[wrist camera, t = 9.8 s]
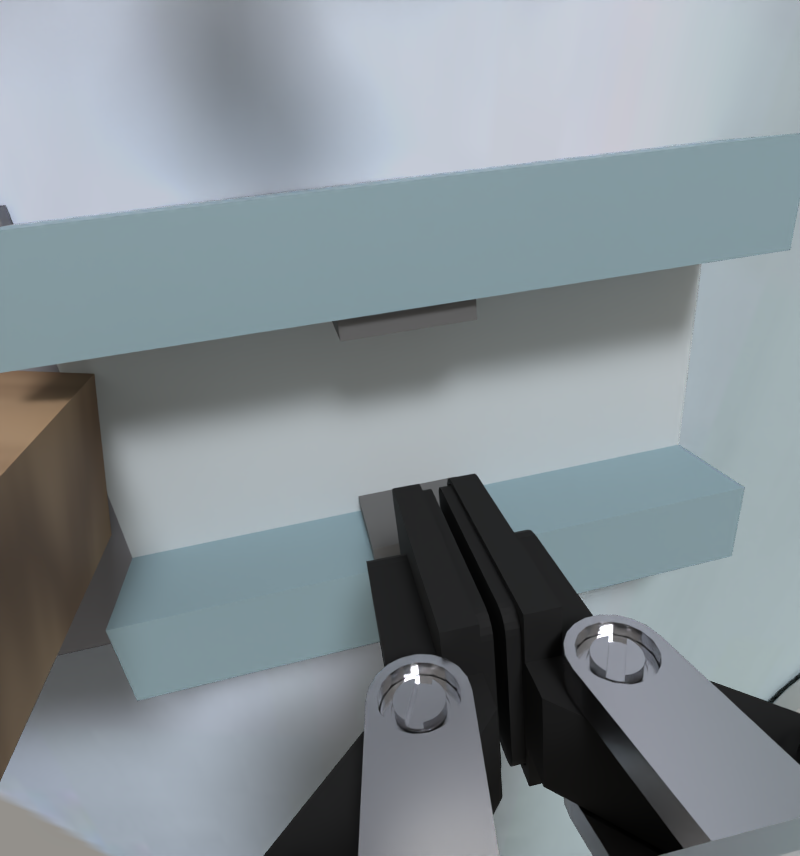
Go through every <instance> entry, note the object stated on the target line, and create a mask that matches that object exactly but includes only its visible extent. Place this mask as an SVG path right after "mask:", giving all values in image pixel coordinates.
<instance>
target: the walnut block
mask: <svg viewBox="0 0 800 856" xmlns="http://www.w3.org/2000/svg"><path fill="white" fill-rule="evenodd" d="M111 535H112V534H111V525H110V515H109V506H108V497H107V487H106V478H105V469H104V459H103V450H102V441H101V431H100V422H99V412H98V403H97V394H96V384H95V375H94V374H90V373H64V372H38V371H10V372H3V373H0V781H1V778H2V776H3V774H4V772H5V770H6V767H7V765H8V763H9V761H10V758H11V756H12V754H13V752H14V750H15V747H16V745H17V743H18V741H19V739H20V736H21V734H22V732H23V730H24V727H25V725H26V723H27V721H28V719H29V716H30V714H31V712H32V710H33V708H34V705H35V703H36V701H37V699H38V696H39V694H40V692H41V690H42V688H43V685H44V683H45V681H46V679H47V677H48V674H49V672H50V670H51V668H52V666H53V663H54V661H55V659H56V657H57V654H58V652H59V650H60V648H61V646H62V643H63V641H64V639H65V637H66V635H67V632H68V630H69V628H70V626H71V623H72V621H73V619H74V617H75V615H76V612H77V610H78V608H79V606H80V604H81V601H82V599H83V597H84V595H85V592H86V590H87V588H88V586H89V584H90V581H91V579H92V577H93V575H94V573H95V570H96V568H97V566H98V564H99V561H100V559H101V557H102V555H103V553H104V550H105V548H106V546H107V544H108V542H109V539H110V537H111Z"/></svg>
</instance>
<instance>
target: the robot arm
mask: <svg viewBox="0 0 800 856" xmlns="http://www.w3.org/2000/svg"><path fill="white" fill-rule="evenodd" d="M392 495H393V503H394V510H395V518H396V525H397V532H398V540H399V547H400V554H401V555H395V556H390V557H385V558H380V559H375V560H370V561H366V563H367V569H368V575H369V581H370V587H371V593H372V599H373V605H374V611H375V616H376V622H377V628H378V634H379V639H380V645H381V650H382V656H383V661H384V668H383V669H382V670H381V671H380V672H379V673H378V674H376V676H375V678H374V679H373V681H372V683H371V684H370V686H369V688H368V693H367V697H366V703H365V724H364V731H363V732H362V734H361V735H360V736H359V737H358V739H357V740H356V741H355V742H354V744H353V745H352V746H351V747H350V749H349V750H348V751H347V752H346V754H345V755H344V756H343V757H342V759H341V760H340V761H339V762H338V764H337V765H336V766H335V767H334V769H333V770H332V771H331V772H330V774H329V775H328V776H327V777H326V779H325V780H324V781H323V782H322V784H321V785H320V786H319V787H318V789H317V790H316V791H315V792H314V794H313V795H312V796H311V797H310V799H309V800H308V801H307V802H306V803H305V805H304V806H303V807H302V808H301V810H300V811H299V812H298V813H297V815H296V816H295V817H294V818H293V820H292V821H291V822H290V823H289V825H288V826H287V827H286V828H285V830H284V831H283V832H282V833H281V835H280V836H279V837H278V838H277V840H276V841H275V842H274V843H273V845H272V846H271V847H270V848H269V850H268V851H267V852H266V853H265V855H264V856H500V855H499V849H498V843H497V837H496V831H495V825H494V819H493V814H494V812H495V810H496V808H497V806H498V805H499V803H500V801H501V799H502V783H501V754H500V743H501V745H502V748H503V751H504V753H505V756H506V759H507V761H508V763H509V765H510V766H515V765H519V764H521V767H522V769H523V772H524V774H525V777H526V779H527V782H528V784H529V786H533V785H537V784H541V783H542V784H543V786H544V787H545V788H547V789H549V790H551V791H553V792H555V793H557V794H558V795H560V796H562V797H564V805H565V807H566V809H567V812H568V814H569V816H570V819H571V820H572V822H573V824H574V825H575V827H576V829H577V830H578V832H579V834H580V835H581V837H582V839H583V840H584V842H585V844H586V845H587V847H588V849H589V850H590V852H591V854H592V855H593V856H800V679H798V680H797V681H796V682H795V683H793V684H792V685H791V686H790V687H789V688H787V689H786V690H785V691H784V692H783V693H782V694H781V695H780V696H779V697H778V698H777V699H776V700H775V701H774V702H773V703H770V702H767V701H765V700H762V699H759V698H756V697H753V696H751V695H748V694H745V693H742V692H740V691H737V690H734V689H731V688H728V687H726V686H723V685H720V684H717V683H715V682H712V681H709V680H708V679H707V678H706V677H705V676H704V675H703V674H701V673H700V672H699V671H698V670H697V669H696V668H695V667H694V666H693V665H692V664H691V663H690V662H689V661H687V660H686V659H685V658H684V657H683V656H682V655H681V654H680V653H679V652H678V651H677V650H676V649H675V648H674V647H672V646H671V645H670V644H669V643H668V642H667V641H666V640H665V639H664V638H663V637H662V636H661V635H659V634H658V633H657V632H655V631H654V630H653V629H651V628H650V627H648V626H647V625H645V624H643V623H640V622H638V621H636V620H634V619H631V618H627V617H623V616H618V615H596V616H593V615H592V614H591V612H590V611H589V609H588V608H587V607H586V605H585V604H584V602H583V601H582V600H581V598H580V597H579V595H578V594H577V593H576V591H575V590H574V588H573V587H572V585H571V584H570V583H569V581H568V580H567V578H566V577H565V576H564V574H563V573H562V571H561V570H560V569H559V567H558V566H557V564H556V563H555V561H554V560H553V559H552V557H551V556H550V554H549V553H548V552H547V550H546V549H545V547H544V546H543V545H542V543H541V542H540V540H539V539H538V537H537V536H536V535H535V534H534V533H533V531H532V530H523V531H518V532H514V531H513V530H512V528H511V527H510V525H509V524H508V522H507V521H506V519H505V517H504V516H503V514H502V513H501V511H500V510H499V508H498V507H497V505H496V504H495V502H494V501H493V499H492V497H491V496H490V494H489V493H488V491H487V490H486V488H485V487H484V485H483V484H482V482H481V480H480V479H479V477H478V476H477V475H476V474H469V475H463V476H458V477H452V478H448V480H447V486H443V487H439V502H440V506H439V504H438V502H437V500H436V497H435V495H434V493H433V491H432V489H427V490H422V488H421V486H420V484H414V485H409V486H403V487H398V488H392Z"/></svg>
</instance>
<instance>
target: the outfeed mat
mask: <svg viewBox="0 0 800 856" xmlns="http://www.w3.org/2000/svg"><path fill="white" fill-rule="evenodd" d="M8 225H13V224H12V222H11V219H10V216H9V214H8V211H7V209H6V206H5V205H3V206H0V227H3V226H8ZM16 371H38V372H60V371H59V369H58V366H57V364H55V365H48V366H42V367H35V368H29V369H22V370H16ZM107 497H108V494H107ZM108 506H109V515H110V525H111V534H112V535H111V537H110V539H109V542H108V544H107V546H106V548H105V550H104V553H103V555H102V557H101V559H100V561H99V564H98V566H97V568H96V570H95V573H94V575H93V577H92V579H91V581H90V584H89V586H88V588H87V590H86V592H85V595H84V597H83V599H82V601H81V604H80V606H79V608H78V610H77V612H76V615H75V617H74V619H73V621H72V623H71V626H70V628H69V630H68V632H67V635H66V637H65V639H64V641H63V643H62V646H61V648H60V650H59V652H58V654H57V656H58V655H62V654H67V653H71V652H75V651H80V650H84V649H88V648H93V647H97V646H102V645H106V644H110V643H111V642H110V639H109V637H108V635H107V633H106V628H107V626H108V623H109V620H110V618H111V615H112V612H113V609H114V607H115V604H116V601H117V599H118V596H119V593H120V590H121V588H122V585H123V582H124V580H125V577H126V574H127V571H128V569H129V566H130V563H131V561H132V555H131V553H130V550H129V548H128V545H127V542H126V540H125V537H124V535H123V532H122V530H121V527H120V525H119V522H118V519H117V517H116V514H115V512H114V509H113V507H112V504H111V502H110V499H109V497H108Z"/></svg>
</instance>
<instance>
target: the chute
mask: <svg viewBox="0 0 800 856" xmlns="http://www.w3.org/2000/svg"><path fill="white" fill-rule="evenodd" d="M799 201H800V133H796V134H785V135H774V136H763V137H751V138H740V139H729V140H718V141H707V142H698V143H689V144H681V145H673V146H664V147H656V148H648V149H639V150H631V151H623V152H614V153H606V154H598V155H589V156H581V157H573V158H564V159H556V160H548V161H539V162H531V163H523V164H514V165H506V166H498V167H489V168H481V169H473V170H465V171H456V172H448V173H440V174H431V175H423V176H415V177H406V178H398V179H390V180H381V181H373V182H365V183H356V184H348V185H340V186H331V187H323V188H315V189H306V190H298V191H290V192H281V193H273V194H265V195H256V196H248V197H240V198H231V199H223V200H215V201H206V202H198V203H190V204H181V205H173V206H165V207H156V208H148V209H140V210H131V211H123V212H115V213H106V214H98V215H90V216H82V217H73V218H65V219H57V220H48V221H40V222H32V223H23V224H15V225H8V226H3V227H0V373H3V372H10V371H16V370H22V369H29V368H35V367H42V366H48V365H55V364H57V366H58V369H59V371H60V372H64V373H90V374H94V375H95V384H96V394H97V403H98V412H99V422H100V431H101V441H102V450H103V459H104V469H105V478H106V487H107V494H108V497H109V499H110V502H111V504H112V507H113V509H114V512H115V514H116V517H117V519H118V522H119V525H120V527H121V530H122V532H123V535H124V537H125V540H126V542H127V545H128V548H129V550H130V553H131V555H132V561H131V563H130V566H129V569H128V571H127V574H126V577H125V580H124V582H123V585H122V588H121V590H120V593H119V596H118V599H117V601H116V604H115V607H114V609H113V612H112V615H111V618H110V620H109V623H108V626H107V628H106V633H107V635H108V637H109V639H110V642H111V644H112V646H113V648H114V650H115V653H116V655H117V657H118V659H119V662H120V664H121V666H122V668H123V670H124V673H125V675H126V677H127V679H128V682H129V684H130V686H131V688H132V690H133V693H134V695H135V697H136V699H137V701H139V700H143V699H147V698H151V697H156V696H160V695H164V694H168V693H172V692H176V691H180V690H184V689H188V688H192V687H197V686H201V685H205V684H209V683H213V682H217V681H221V680H225V679H229V678H233V677H238V676H242V675H246V674H250V673H254V672H258V671H262V670H266V669H270V668H274V667H279V666H283V665H287V664H291V663H295V662H299V661H303V660H307V659H311V658H315V657H320V656H324V655H328V654H332V653H336V652H340V651H344V650H348V649H352V648H356V647H361V646H365V645H369V644H373V643H377V642H380V639H379V634H378V628H377V622H376V616H375V611H374V605H373V599H372V593H371V587H370V581H369V575H368V569H367V563H366V561H370V560H375V559H380V558H385V557H390V556H395V555H401V554H400V547H399V540H398V532H397V525H396V518H395V510H394V503H393V495H392V488H398V487H403V486H409V485H414V484H420V486H421V488H422V490H427V489H432V491H433V493H434V495H435V497H436V500H437V502H438V504H439V506H440V502H439V487H443V486H447V480H448V478H452V477H458V476H463V475H469V474H476V475H477V476H478V477H479V479H480V480H481V482H482V484H483V485H484V487H485V488H486V490H487V491H488V493H489V494H490V496H491V497H492V499H493V501H494V502H495V504H496V505H497V507H498V508H499V510H500V511H501V513H502V514H503V516H504V517H505V519H506V521H507V522H508V524H509V525H510V527H511V528H512V530H513V531H514V532H518V531H523V530H532V531H533V533H534V534H535V535H536V536H537V537H538V539H539V540H540V542H541V543H542V545H543V546H544V547H545V549H546V550H547V552H548V553H549V554H550V556H551V557H552V559H553V560H554V561H555V563H556V564H557V566H558V567H559V569H560V570H561V571H562V573H563V574H564V576H565V577H566V578H567V580H568V581H569V583H570V584H571V585H572V587H573V588H574V590H575V591H576V593H577V594H578V593H582V592H586V591H590V590H594V589H598V588H603V587H607V586H611V585H615V584H619V583H623V582H627V581H631V580H635V579H640V578H644V577H648V576H652V575H656V574H660V573H664V572H668V571H672V570H676V569H681V568H685V567H689V566H693V565H697V564H701V563H705V562H709V561H713V560H717V559H722V558H726V557H730V556H732V552H733V547H734V541H735V536H736V531H737V526H738V521H739V515H740V510H741V505H742V500H743V494H744V489H745V487H743V486H742V485H740V484H739V483H737V482H736V481H734V480H733V479H731V478H730V477H728V476H727V475H725V474H723V473H722V472H720V471H719V470H717V469H716V468H714V467H713V466H711V465H710V464H708V463H706V462H705V461H703V460H702V459H700V458H699V457H697V456H696V455H694V454H693V453H691V452H690V451H688V450H686V449H685V448H683V447H682V446H680V445H679V438H680V431H681V423H682V415H683V407H684V399H685V391H686V383H687V375H688V367H689V359H690V351H691V343H692V335H693V327H694V319H695V311H696V303H697V295H698V287H699V279H700V272H701V264H703V263H709V262H716V261H722V260H728V259H735V258H741V257H748V256H754V255H760V254H767V253H773V252H780V251H786V250H790V248H791V243H792V238H793V232H794V227H795V222H796V217H797V211H798V206H799Z"/></svg>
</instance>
